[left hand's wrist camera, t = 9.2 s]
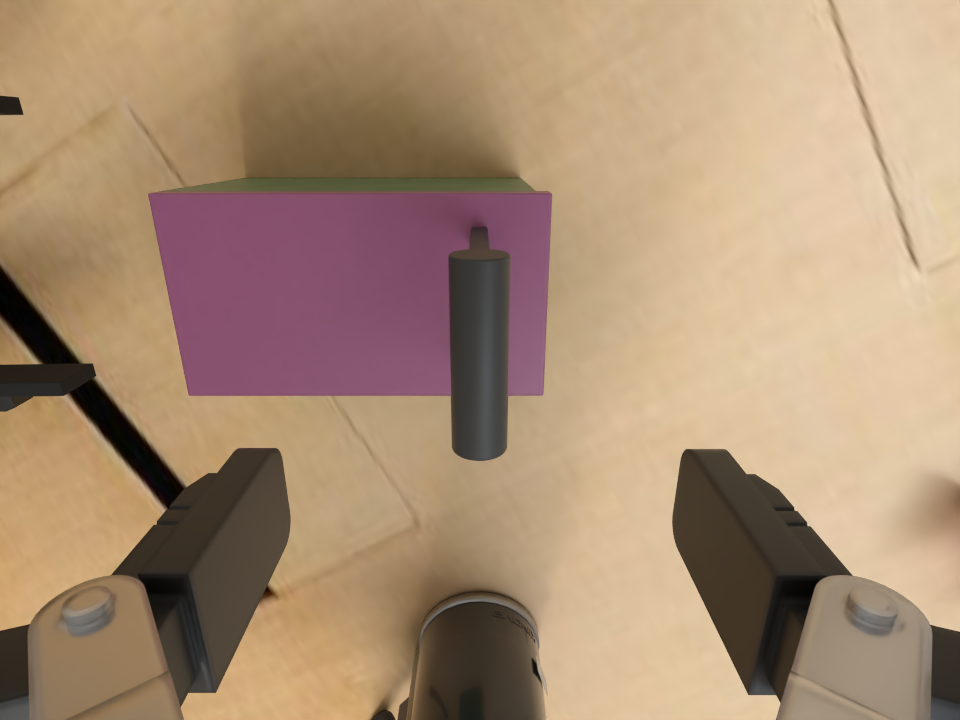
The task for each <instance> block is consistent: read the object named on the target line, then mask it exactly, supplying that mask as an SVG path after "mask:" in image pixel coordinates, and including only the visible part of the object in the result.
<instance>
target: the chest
mask: <svg viewBox="0 0 960 720" xmlns="http://www.w3.org/2000/svg"><path fill="white" fill-rule="evenodd" d="M167 191H535V190H534V189H533V188H531V187H530V186H529V185H528V184H527V183H526V182H525V181H524V180H522V179H521V178H243V179H236V180H230V181H224V182H217V183H211V184H205V185H198V186H192V187H186V188H179V189H173V190H167Z"/></svg>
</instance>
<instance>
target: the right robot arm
mask: <svg viewBox="0 0 960 720" xmlns="http://www.w3.org/2000/svg"><path fill="white" fill-rule="evenodd" d="M0 115H23V111H22V108H21V104H20V101H19V98H18V97H8V96H0ZM95 376H96V374H95V370H94V366H93V364H29V365H0V412H2V411H8V410H11V409H13V408H15V407H17V406H18V405H20V404H22V403H24V402H25V401H27V400H29V399H31V398H32V397H33V396H64V395H66V394H67V393H69V392H71V391H72V390H74V389H76V388H77V387H79V386H80V385H82V384H84V383H85V382H87V381H89V380H90V379H92V378H94V377H95Z"/></svg>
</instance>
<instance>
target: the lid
mask: <svg viewBox="0 0 960 720" xmlns="http://www.w3.org/2000/svg"><path fill="white" fill-rule="evenodd" d="M149 200H150V205H151V210H152V215H153V220H154V225H155V230H156V235H157V240H158V245H159V250H160V255H161V260H162V265H163V269H164V274H165V279H166V284H167V289H168V294H169V299H170V304H171V309H172V314H173V319H174V324H175V329H176V334H177V339H178V344H179V349H180V354H181V359H182V364H183V369H184V374H185V379H186V384H187V389H188V394H189V395H190V396H451V417H452V448H453V451H454V452H455V453H456V454H457V455H458V456H460V457H462V458H465V459H468V460H475V461H484V460H491V459H494V458H497V457H499V456H501V455H502V454H503V453H504V452H505V451H506V448H507V416H508V395H543V389H544V367H545V344H546V321H547V298H548V275H549V253H550V230H551V207H552V194H551V193H550V192H548V191H161V192H155V193H150V194H149Z"/></svg>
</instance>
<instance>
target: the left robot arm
mask: <svg viewBox="0 0 960 720" xmlns="http://www.w3.org/2000/svg"><path fill="white" fill-rule="evenodd" d="M672 523H673V534H674V539H675V543H676V546H677V548H678V551H679V553H680V555H681V557H682V559H683V561H684V563H685V565H686V567H687V569H688V571H689V573H690V575H691V577H692V579H693V581H694V584H695V586H696V588H697V590H698V592H699V594H700V596H701V598H702V600H703V602H704V604H705V606H706V608H707V610H708V612H709V614H710V617H711V619H712V621H713V623H714V625H715V627H716V629H717V631H718V633H719V635H720V637H721V639H722V641H723V643H724V645H725V647H726V649H727V652H728V654H729V656H730V658H731V660H732V662H733V664H734V666H735V668H736V670H737V672H738V674H739V676H740V678H741V680H742V682H743V685H744V687H745V689H746V691H747V693H748V695H777V697H778V699H779V701H780V703H781V704H780V708H779V711H778V715H777V718H776V720H960V632H958V631H954V630H949V629H945V628H940V627H936V626H933V625H930V624H929V621H928V620H927V618H926V617H925V615H924V614H923V613H922V612H921V611H920V610H919V609H918V608H917V607H916V606H915V605H914V604H913V603H912V602H911V601H909V600H908V599H906V598H905V597H904V596H902V595H901V594H899V593H897V592H896V591H894V590H892V589H890V588H888V587H886V586H884V585H882V584H879V583H877V582H874V581H871V580H868V579H865V578H860V577H856V576H852V574H851V573H850V572H849V571H848V570H847V569H846V567H845V566H844V565H843V564H842V563H841V562H840V560H839V559H838V558H837V557H836V556H835V555H834V553H833V552H832V551H831V550H830V549H829V548H828V546H827V545H826V544H825V543H824V542H823V541H822V539H821V538H820V537H819V536H818V535H817V534H816V532H815V531H814V530H813V529H812V528H811V527H810V526H807V522H806V521H805V520H804V518H803V517H802V516H801V515H800V514H799V513H798V511H794V507H793V506H792V504H791V503H790V502H789V501H788V500H787V499H786V497H785V496H784V495H783V494H782V493H781V492H780V490H779V489H777V488H775V487H774V486H772V485H771V484H769V483H768V482H766V481H765V480H763V479H761V478H760V477H758V476H757V475H755V474H746V473H745V472H744V471H743V469H742V468H741V467H740V466H739V464H738V463H737V462H736V461H735V459H734V458H733V457H732V456H731V454H730V453H729V452H728V451H727V450H725V449H686V450H685V451H684V452H683V454H682V457H681V462H680V468H679V475H678V482H677V489H676V496H675V503H674V510H673V520H672ZM289 532H290V509H289V502H288V495H287V488H286V481H285V474H284V467H283V461H282V456H281V453H280V451H279V450H278V449H277V448H238V449H236V450H235V451H234V453H233V454H232V455H231V456H230V458H229V459H228V460H227V461H226V463H225V464H224V465H223V466H222V468H221V469H220V470H219V471H218V473H208V474H207V475H205V476H203V477H202V478H200V479H199V480H197V481H196V482H194V483H193V484H191V485H189V486H188V487H186V488H185V489H184V490H183V491H182V492H181V494H180V495H179V496H178V497H177V498H176V499H175V501H174V502H173V503H172V504H171V505H170V509H169V510H166V511H165V512H164V514H163V515H162V516H161V517H160V518H159V519H158V521H157V525H153V527H152V528H151V529H150V530H149V531H148V532H147V534H146V535H145V536H144V537H143V538H142V540H141V541H140V542H139V543H138V544H137V545H136V547H135V548H134V549H133V550H132V551H131V552H130V554H129V555H128V556H127V557H126V558H125V560H124V561H123V562H122V563H121V564H120V565H119V567H118V568H117V569H116V570H115V571H114V572H113V574H112V575H111V576H104V577H100V578H95V579H92V580H89V581H86V582H83V583H81V584H78V585H76V586H74V587H72V588H70V589H68V590H66V591H64V592H63V593H61V594H59V595H58V596H56V597H55V598H54V599H52V600H51V601H49V602H48V603H47V604H46V605H45V606H44V607H43V608H42V609H41V610H40V611H39V612H38V613H37V614H36V615H35V617H34V618H33V620H32V621H31V624H29V625H24V626H20V627H16V628H11V629H7V630H2V631H0V720H184V718H183V715H182V711H181V708H180V707H181V705H182V704H183V702H184V700H185V698H186V696H187V694H188V693H216V691H217V689H218V687H219V685H220V683H221V681H222V679H223V677H224V675H225V672H226V670H227V668H228V666H229V664H230V662H231V660H232V658H233V656H234V654H235V652H236V649H237V647H238V645H239V643H240V641H241V639H242V637H243V635H244V633H245V631H246V629H247V627H248V624H249V622H250V620H251V618H252V616H253V614H254V612H255V610H256V608H257V606H258V604H259V601H260V599H261V597H262V595H263V593H264V591H265V589H266V587H267V585H268V583H269V581H270V579H271V576H272V574H273V572H274V570H275V568H276V566H277V564H278V562H279V560H280V558H281V556H282V553H283V551H284V549H285V547H286V545H287V542H288V538H289ZM542 683H543V685H544V688H545V690H546V693H547V685H546V679H545V677H544V674H543V671H542V669H541V666H540V659H539V638H538V631H537V627H536V624H535V622H534V620H533V618H532V616H531V615H530V614H529V613H528V611H527V610H526V609H525V608H523V607H522V606H521V605H520V604H518V603H517V602H515V601H513V600H511V599H509V598H507V597H504V596H501V595H498V594H493V593H486V592H472V593H465V594H460V595H457V596H454V597H451V598H449V599H447V600H445V601H443V602H441V603H440V604H439V605H437V606H436V607H435V608H434V609H432V611H431V612H430V613H429V614H428V615H427V617H426V618H425V620H424V622H423V624H422V627H421V632H420V640H419V648H418V649H417V650H416V651H415V654H414V662H413V670H412V678H411V686H410V694H409V697H408V698H407V699H406V700H405V701H404V702H403V703H402V704H401V705H400V707H399V714H398V720H546V711H545V702H544V694H543V685H542ZM547 696H548V694H547ZM372 720H395V718H394V716H393V714H392V713H391V712H390V711H382V712H380V713H378V714H377V715H376V716H374V718H373V719H372Z"/></svg>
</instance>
